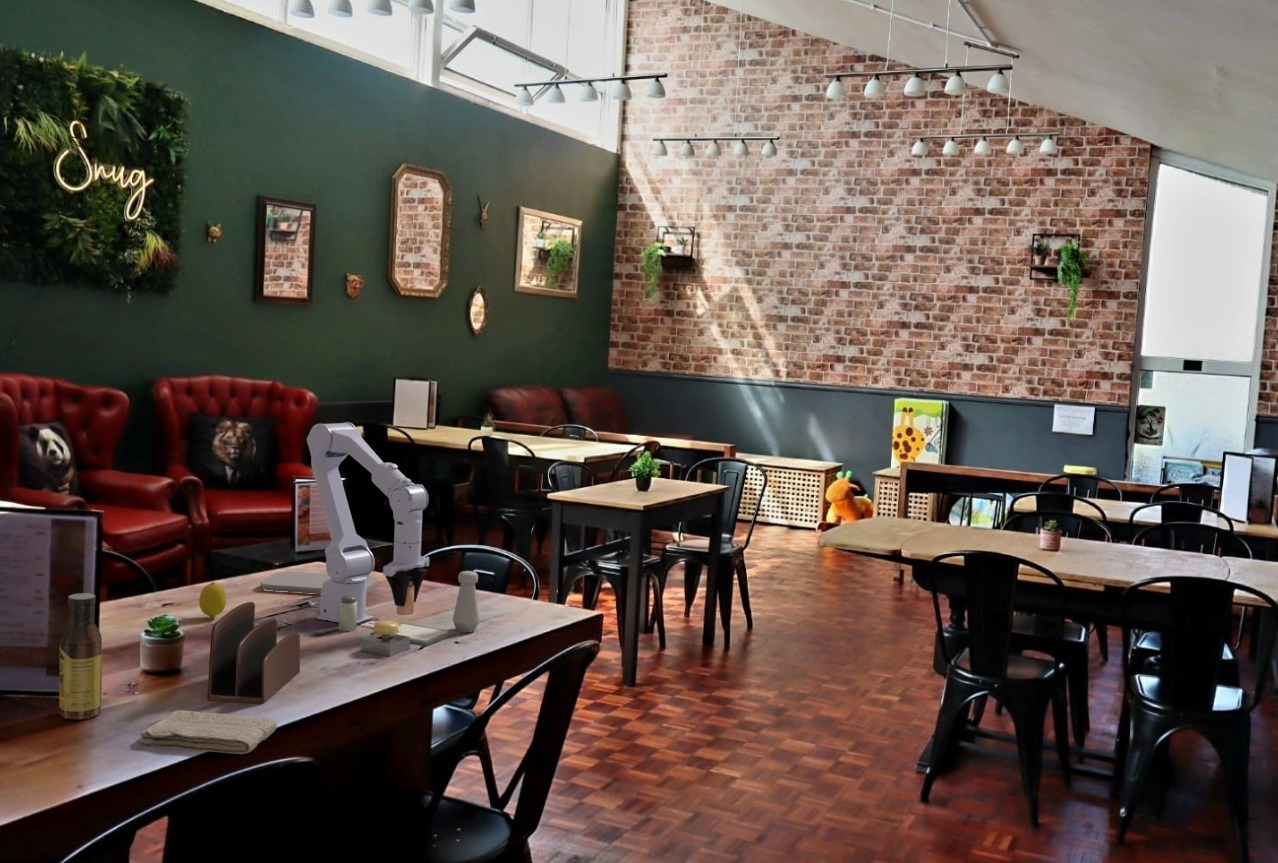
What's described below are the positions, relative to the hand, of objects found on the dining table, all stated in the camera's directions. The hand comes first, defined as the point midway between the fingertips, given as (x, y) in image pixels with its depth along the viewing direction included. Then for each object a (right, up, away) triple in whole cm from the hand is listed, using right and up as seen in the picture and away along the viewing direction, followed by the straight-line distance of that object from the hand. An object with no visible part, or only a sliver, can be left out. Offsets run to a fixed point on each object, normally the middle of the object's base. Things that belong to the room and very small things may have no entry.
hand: (405, 603), depth 253 cm
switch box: (-1, -7, -14) cm, 16 cm away
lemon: (-43, -4, +3) cm, 43 cm away
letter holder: (-19, -9, -42) cm, 47 cm away
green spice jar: (-12, -6, 0) cm, 14 cm away
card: (-7, -5, +4) cm, 10 cm away
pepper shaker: (0, -2, 0) cm, 2 cm away
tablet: (-29, -2, +38) cm, 48 cm away
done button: (-1, -6, -14) cm, 16 cm away
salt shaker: (+12, -7, +5) cm, 15 cm away
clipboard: (+2, -6, -2) cm, 7 cm away
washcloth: (-17, -11, -69) cm, 72 cm away
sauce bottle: (-40, -9, -63) cm, 75 cm away
